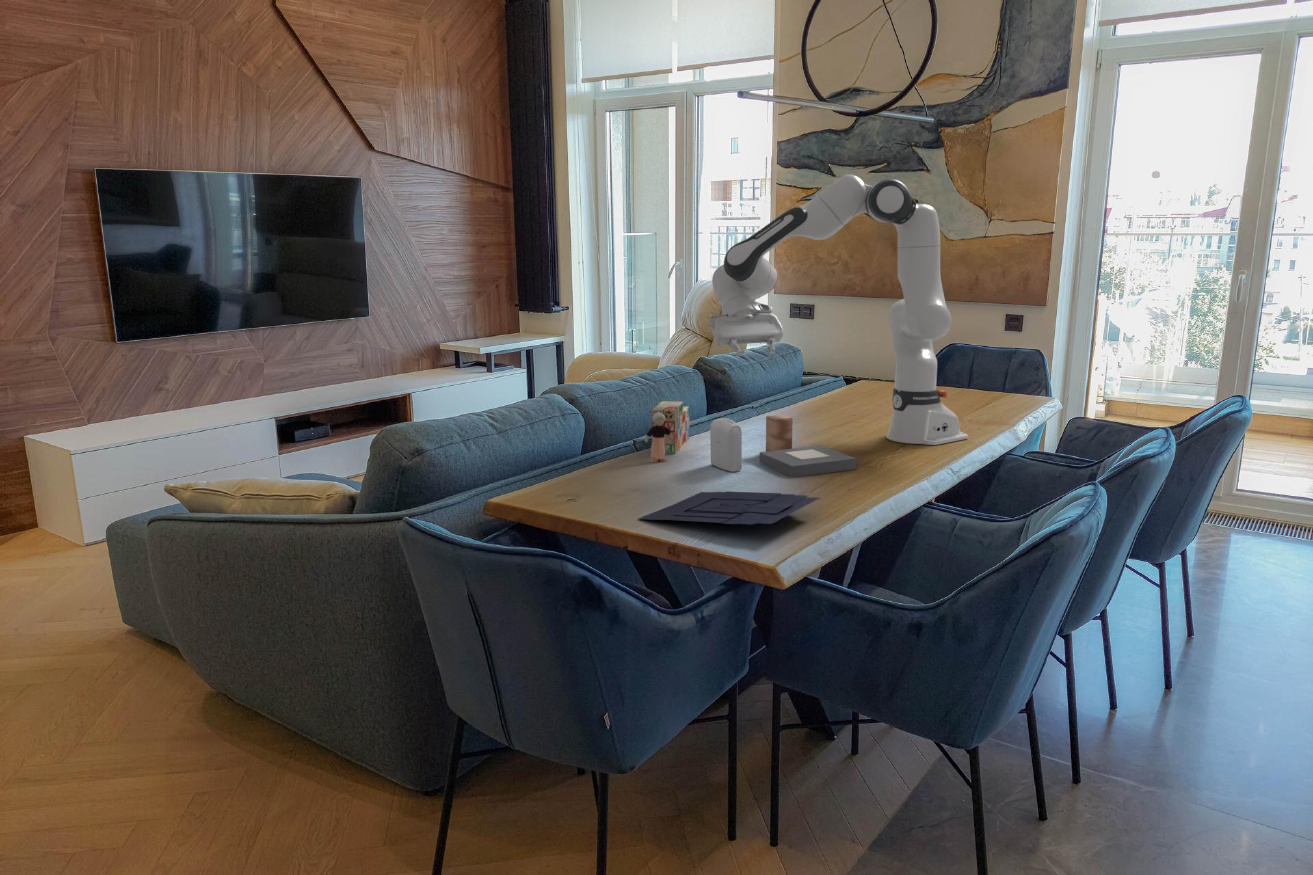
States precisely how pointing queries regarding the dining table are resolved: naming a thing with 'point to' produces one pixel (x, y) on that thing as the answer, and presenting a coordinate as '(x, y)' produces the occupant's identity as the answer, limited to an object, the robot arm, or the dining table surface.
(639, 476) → the dining table surface
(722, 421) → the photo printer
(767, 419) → the terracotta block
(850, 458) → the base plate
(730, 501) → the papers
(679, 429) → the stack of blocks
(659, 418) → the grandmother figurine
